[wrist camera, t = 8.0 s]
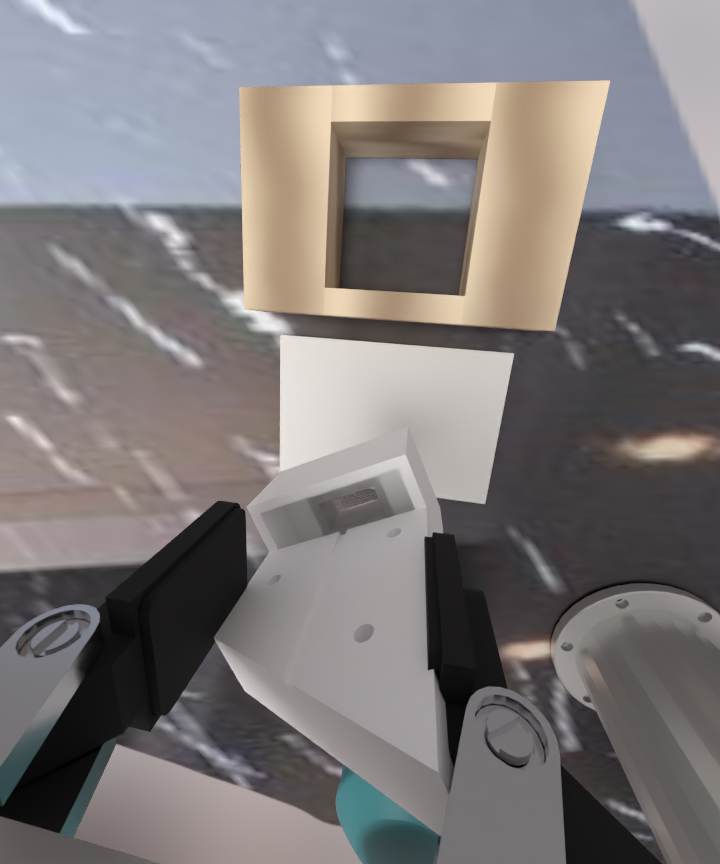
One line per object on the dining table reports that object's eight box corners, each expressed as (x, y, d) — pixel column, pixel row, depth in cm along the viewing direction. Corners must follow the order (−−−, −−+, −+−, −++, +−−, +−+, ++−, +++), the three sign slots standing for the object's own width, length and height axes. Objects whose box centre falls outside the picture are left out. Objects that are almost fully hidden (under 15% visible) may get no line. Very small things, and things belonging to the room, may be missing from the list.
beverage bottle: (366, 598, 31) (284, 1022, 12) (383, 534, 29) (315, 923, 10) (440, 619, 30) (475, 1101, 11) (461, 555, 28) (548, 1012, 9)
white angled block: (582, 508, 11) (483, 868, 5) (354, 507, 18) (195, 654, 12) (549, 398, 10) (384, 658, 4) (325, 442, 17) (139, 562, 11)
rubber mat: (511, 352, 24) (514, 353, 23) (483, 500, 27) (485, 504, 26) (283, 334, 26) (280, 334, 25) (282, 473, 29) (279, 476, 28)
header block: (573, 128, 20) (610, 80, 16) (532, 330, 23) (554, 331, 19) (270, 128, 22) (239, 87, 18) (270, 312, 25) (244, 309, 22)
